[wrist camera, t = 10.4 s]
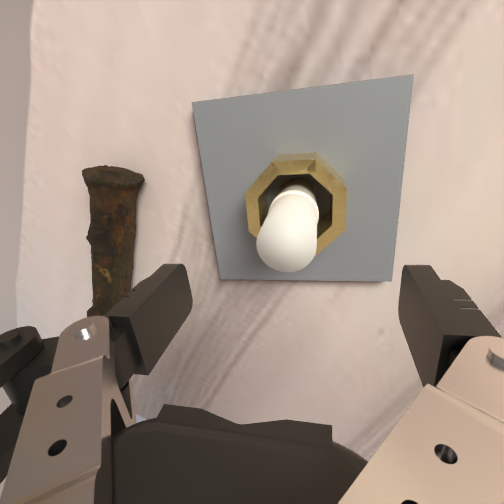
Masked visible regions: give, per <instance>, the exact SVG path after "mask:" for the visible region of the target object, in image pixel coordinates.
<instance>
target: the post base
mask: <svg viewBox="0 0 504 504" xmlns="http://www.w3.org/2000/svg"><path fill="white" fill-rule="evenodd" d="M413 75H414V74H413ZM413 75H405V76H397V77H389V78H381V79H373V80H365V81H357V82H349V83H341V84H333V85H325V86H317V87H309V88H302V89H294V90H286V91H278V92H270V93H262V94H254V95H246V96H238V97H230V98H222V99H214V100H206V101H198V102H192V107H193V113H194V119H195V125H196V132H197V138H198V144H199V150H200V157H201V163H202V169H203V175H204V181H205V188H206V194H207V200H208V206H209V213H210V219H211V225H212V231H213V237H214V244H215V250H216V256H217V262H218V269H219V275H220V279H241V280H315V281H388V282H392V274H393V264H394V255H395V245H396V236H397V226H398V217H399V208H400V198H401V189H402V179H403V170H404V160H405V151H406V141H407V132H408V122H409V113H410V103H411V94H412V85H413ZM310 152H316V153H317V154H318V155H320V156H321V157H322V158H323V159H324V160H325V161H326V162H327V163H328V164H329V165H330V166H331V167H332V168H333V169H334V170H335V171H336V172H337V173H338V174H339V175H341V176H342V177H343V180H344V182H345V185H346V187H347V204H346V228H345V231H344V232H342V233H341V234H340V235H339V236H338V237H337V238H336V239H335V240H333V241H332V242H331V243H330V244H329V245H328V246H327V247H325V248H324V249H323V250H322V251H321V252H320V253H319V254H318V255H316V256H315V253H316V249H317V223H318V220H319V219H320V218H321V217H322V216H323V215H325V214H326V213H327V212H328V211H329V210H330V194H331V193H330V192H329V191H328V190H327V189H326V188H325V187H324V186H323V185H322V184H321V183H319V182H318V181H317V180H316V179H315V178H314V177H313V176H312V175H311V174H292V175H278V176H277V177H276V178H275V179H274V180H273V181H272V182H271V184H270V185H269V186H268V187H267V188H266V189H267V203H268V215H267V217H266V219H265V221H264V223H263V225H262V227H261V229H260V231H259V234H258V236H257V238H256V237H255V236H254V235H252V234H251V233H250V232H249V229H248V219H247V208H246V198H245V193H246V192H247V190H248V189H249V188H250V187H251V186H252V185H253V183H254V182H255V181H256V180H257V179H258V177H259V176H260V175H261V174H262V173H263V172H264V170H265V169H266V168H267V167H268V166H269V164H270V163H271V162H272V161H273V160H274V159H275V158H276V157H277V156H278V155H281V154H296V153H310Z"/></svg>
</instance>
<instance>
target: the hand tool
mask: <svg viewBox="0 0 504 504" xmlns="http://www.w3.org/2000/svg"><path fill="white" fill-rule="evenodd" d="M82 175H83V178H84V181H85V183H86V186H87V187H88V191H89V195H90V213H91V223H90V227H89V231H88V235H87V237H86V238H87V240H88V241H89V243H90V245H91V254H92V257H91V258H92V284H93V300H92V302H93V306H92V307H91V308H90V309H89V310H88V311H87V317H91V316H104V315H105V314H106V313H107V312H108V311H109V310H110V309H111V308H112V307H113V306H115V305H116V304H117V303H118V302H119V301H120V300H121V299H122V298H123V297H125V295H126V294H128V293H129V292H130V285H131V275H132V269H133V246H134V239H135V230H136V224H135V214H136V194H137V189H138V187H139V185H140V184H141V183H142V182H143V181H144V180H145V179H144V177H143V175H142V174H139V173H135V172H133V171H131V170H128V169H125V168H120V167H113V166H111V167H109V166H106V165H104V166H97V167H92V168H86V169H84V170H82Z"/></svg>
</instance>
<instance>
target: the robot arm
mask: <svg viewBox="0 0 504 504" xmlns="http://www.w3.org/2000/svg"><path fill="white" fill-rule="evenodd" d="M192 303H193V300H192V294H191V289H190V285H189V280H188V276H187V271H186V268H185V266H184V265H183V264H163V265H162V266H161V267H160V268H159V269H158V270H157V271H156V272H154V273H153V274H152V275H151V276H150V277H148V278H146V279H145V280H143V281H141V282H139V283H138V284H137V285H136V286H135V287H134V288H133V289H132V291H130V292H129V293H128V294H126V295H125V297H123V298H122V299H121V300H120V301H119V302H118V303H117V304H116V305H115V306H113V307H112V308H111V309H110V310H109V311H108V312H107V313H106V314H105V315H104V316H91V317H87V318H84V319H81V320H79V321H77V322H75V323H73V324H71V325H70V326H68V327H67V328H66V329H65V330H64V331H63V332H62V333H61V334H60V336H59V337H53V338H47V339H41V337H40V335H39V333H38V331H37V329H36V328H35V327H31V326H26V327H20V328H16V329H13V330H10V331H8V332H5V333H3V334H1V335H0V387H3V389H4V390H5V392H6V394H7V395H8V397H9V398H10V400H11V402H12V404H11V405H10V406H9V407H8V408H7V409H6V410H5V411H4V412H3V413H2V414H1V415H0V483H1V482H2V481H3V480H4V479H5V477H6V476H7V477H6V481H5V484H4V487H3V490H2V494H1V498H0V504H503V501H504V338H502V337H501V336H500V335H499V333H498V332H497V331H496V330H495V328H494V327H493V326H492V325H491V323H490V322H489V321H488V319H487V318H486V317H485V316H484V314H483V313H482V312H481V311H480V310H478V307H477V306H476V304H475V303H474V302H473V301H471V298H470V297H469V295H468V294H467V293H466V292H465V290H464V289H463V288H461V287H459V286H458V285H456V284H455V283H453V282H451V281H450V280H440V278H439V277H438V275H437V274H436V273H435V271H434V270H433V268H432V267H431V266H430V265H404V267H403V270H402V278H401V287H400V296H399V306H398V312H399V320H400V324H401V327H402V329H403V332H404V335H405V338H406V340H407V343H408V346H409V349H410V352H411V354H412V357H413V360H414V363H415V365H416V368H417V371H418V374H419V376H420V379H421V382H422V385H423V389H422V390H421V392H420V393H419V394H418V396H417V397H416V399H415V400H414V401H413V403H412V404H411V405H410V407H409V408H408V409H407V411H406V412H405V413H404V415H403V416H402V417H401V419H400V420H399V422H398V423H397V424H396V426H395V427H394V428H393V430H392V431H391V432H390V434H389V435H388V436H387V438H386V439H385V440H384V442H383V443H382V445H381V446H380V447H379V449H378V450H377V451H376V453H375V454H374V455H373V457H372V458H371V459H370V461H369V462H367V461H366V460H365V459H364V458H362V457H361V456H359V455H358V454H356V453H355V452H353V451H352V450H350V449H348V448H346V447H344V446H342V445H340V444H338V443H336V442H333V441H332V425H324V424H316V423H308V422H301V421H293V420H279V421H270V422H261V423H253V424H243V425H241V424H236V423H233V422H231V421H229V420H226V419H224V418H222V417H219V416H217V415H215V414H212V413H210V412H208V411H205V410H203V409H199V408H191V407H183V406H175V405H167V404H164V405H163V407H162V409H161V411H160V413H159V415H158V416H157V418H154V419H150V420H145V421H142V422H139V423H136V414H135V405H134V396H133V387H132V383H131V380H130V378H131V377H132V375H133V374H141V375H149V373H150V372H151V370H152V369H153V367H154V366H155V365H156V363H157V362H158V360H159V359H160V357H161V356H162V354H163V353H164V351H165V350H166V348H167V347H168V345H169V344H170V342H171V341H172V339H173V338H174V336H175V335H176V333H177V332H178V330H179V329H180V327H181V326H182V324H183V323H184V321H185V320H186V318H187V317H188V315H189V314H190V312H191V309H192Z"/></svg>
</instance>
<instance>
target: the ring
mask: <svg viewBox="0 0 504 504" xmlns="http://www.w3.org/2000/svg"><path fill="white" fill-rule="evenodd" d="M292 174H311V175H312V176H313V177H314V178H315V179H316V180H317V181H318V182H319V183H321V184H322V185H323V186H324V187H325V188H326V189H327V190H328V191H329V192H330V193H331V194H330V210H329V211H328V212H327V213H326V214H325V215H323V216H322V217H321V218H320V219H319V220H318V223H317V249H316V253H315V256H316V255H318V254H319V253H320V252H321V251H322V250H323V249H324V248H325V247H327V246H328V245H329V244H330V243H331V242H332V241H333V240H335V239H336V238H337V237H338V236H339V235H340V234H341V233H342V232H344V231H345V228H346V204H347V187H346V185H345V182H344V180H343V177H342V176H341V175H339V174H338V173H337V172H336V171H335V170H334V169H333V168H332V167H331V166H330V165H329V164H328V163H327V162H326V161H325V160H324V159H323V158H322V157H321V156H320V155H318V154H317V153H316V152H310V153H296V154H281V155H278V156H277V157H276V158H275V159H274V160H273V161H272V162H271V163H270V164H269V166H268V167H267V168H266V169H265V170H264V172H263V173H262V174H261V175H260V176H259V177H258V179H257V180H256V181H255V182H254V183H253V185H252V186H251V187H250V188H249V189H248V190H247V192H246V193H245V198H246V208H247V219H248V229H249V232H250V233H251V234H252V235H254V236H255V237H256V238H257V236H258V234H259V231H260V229H261V227H262V225H263V223H264V221H265V219H266V217H267V215H268V203H267V189H266V188H267V187H268V186H269V185H270V184H271V182H272V181H273V180H274V179H275V178H276V177H277V176H278V175H292Z"/></svg>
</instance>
